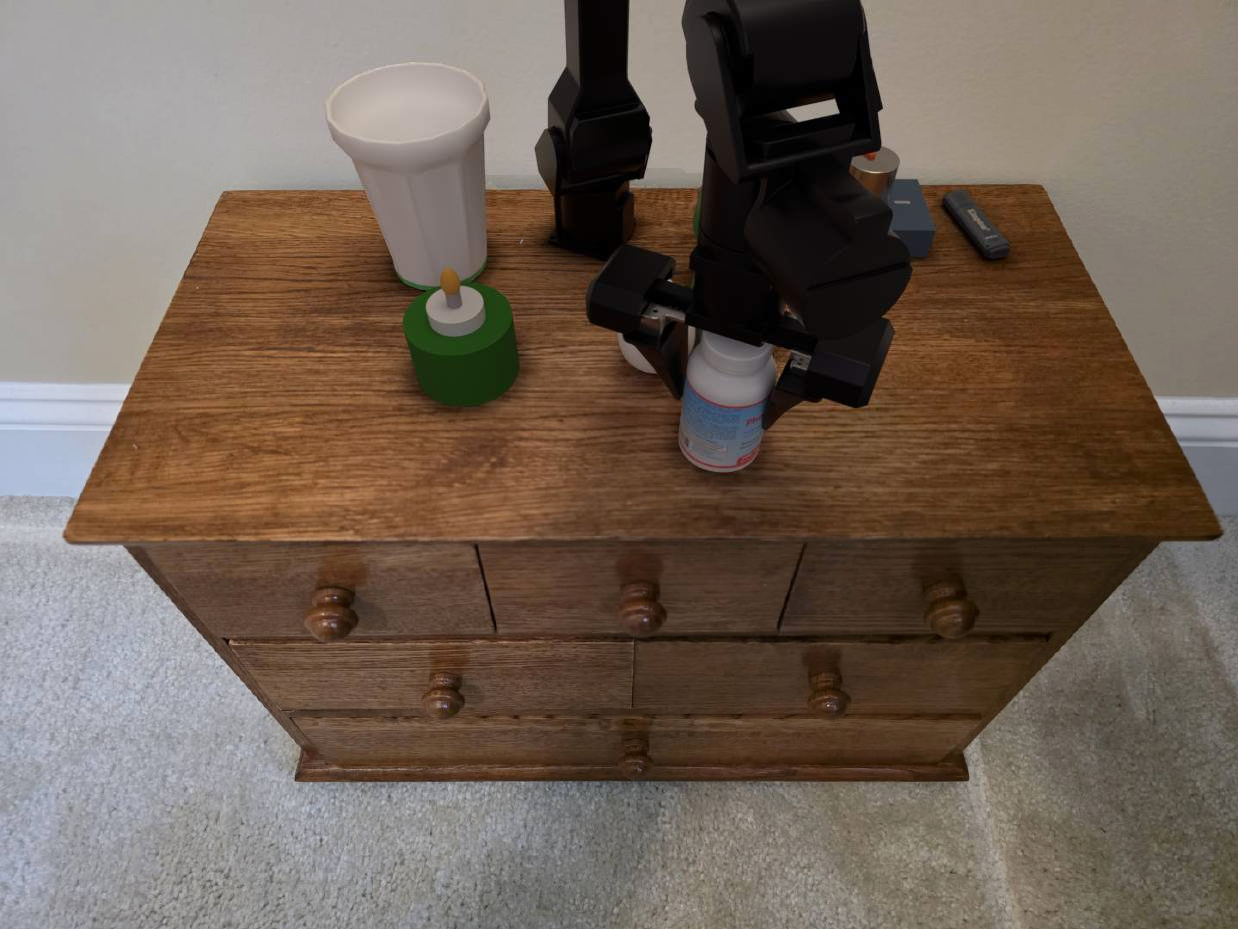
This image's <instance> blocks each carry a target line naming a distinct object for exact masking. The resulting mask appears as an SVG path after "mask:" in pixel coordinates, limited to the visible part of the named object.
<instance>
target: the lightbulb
mask: <svg viewBox="0 0 1238 929" xmlns="http://www.w3.org/2000/svg"><path fill="white" fill-rule="evenodd" d="M667 281H670V282H673V280H672V278H671V279H669V280H667ZM616 334H617V336H616V337H617V343H618V347H619V349H620V353H621V354H622V355H623V358H625V360H626V361H627V363H629V364H630V365H631V366H632V367H634V368H635V369H637V370H639V371H641V372H644V373H648V374H656V375H658V374H657V373H656V371H655V370H654V368H653V367H652V366H651V365H650V364H649V362H648V361H647V360H646V359H645V358H644V357H643V355H642V354H641V353H640V352H639V351H638V349H637V348H636V347H635V346H634V345H632V344H629V343H626V342H625V341H624V340H623V336H622V333H619V332H616ZM694 342H695V327H692V326H689V327H688V357H690V355H691V353H692V348H693V345H694Z"/></svg>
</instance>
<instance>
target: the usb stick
mask: <svg viewBox="0 0 1238 929" xmlns="http://www.w3.org/2000/svg"><path fill="white" fill-rule="evenodd" d="M941 202H942V205H944V207H945V208H946V209H947V210H948V212H949V213H950V214H951V215H952V217H953V218H954V220H955V221H956V222H957V223H958V225H959V226H960V227H961V228H962V229H963V231H964V232H965V234H966V235H967V236H968V238H970V240H971V241H972V242H973V243H974V244H975V246H976V247H977V248H978V249H979V251H980V252H981V253H982V254H983V256H984V258H987V259H1000V258H1004V257H1007V256H1008V255H1009V254H1010V252H1011V243H1010V242H1009V241H1008V240H1007V239H1006V238H1005V236H1004V235H1003V234H1002V233H1001V231H1000V230H999V229H998V228H997V227H996V226H995V224H994V223H993V222H992V220H990V218H989V217H988V216H987V215H986V214H985V213H984V210H982V209H981V208H980V207H979V205H978V204H977V203H976V202H975V200H974V199H973V198H972V197H971V196H970V194H969V193H968V192H967V191H966V190H965V189H956V190H953V191H952V190H951V191H949V192H947V193H945V194H944V195H943V196H942V200H941Z"/></svg>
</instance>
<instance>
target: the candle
mask: <svg viewBox="0 0 1238 929" xmlns="http://www.w3.org/2000/svg"><path fill="white" fill-rule="evenodd" d="M440 285H441V286H438V287H435V288H432V289H430V290H428V291H427V290H425V292H422V293H421V294H420V295H419V296H417V297H415V298H414V299H413V301H411V302H410V303H409V304H408V306H407V308H406V309H405V311H404V314H403V317H402V330H403V333H404V336H405V340H406V343H407V347H408V350H409V351H408V352H409V354H410V358H411V361H412V365H413V368H414V372H415V376H416V379H417V383H418V385H419V387H420V388H421V391H422V392H424V393H425V395H426V396H427V397H429V398H430V399H431V400H433V401H434V402H438V403H440V404H443V405H445V406H451V407H475V406H479V405H483V404H487V403H489V402H491V401H493V400H496V399H498V398H499V397H500V396H502V395H503V394H505V393H506V392H507V391H508V390H510V388H511V387H512V386H513V385H514V383H515V382H516V380H517V378H518V376H519V372H520V369H521V368H520V358H519V357H520V356H519V351H518V343H517V336H516V330H515V322H514V315H513V308H512V306H511V303H510V301H509V300H508V298H507V297H506V296H505V294H503V293H501V291H499V290H497V289H496V288H494V287H492V286H489V285H486V284H483V283H479V282H473V281H471V282H460V279H459V277H458V275H457V274H456V272H455V271H454V270H452V269H450V268H446V269H445V270H443V272H442V274H441V278H440Z"/></svg>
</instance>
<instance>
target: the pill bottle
mask: <svg viewBox="0 0 1238 929" xmlns="http://www.w3.org/2000/svg"><path fill="white" fill-rule="evenodd" d="M772 348H773V345H772V344H768V343H764V345H763V346H762V347H756V346H753V345H749V344H746V343H743V342H740V341H737V340H733V339H730V338H727V337H724V336H720V335H717V334H714V333H711V332H708V331H704V330H703V332H702V337H701V342H700V344H698V345H697V346H696V348H695V349H694V350H693V351H691V353H690V354H689V356H688V364H687V371H686V378H685V386H684V393H683V397H682V402H681V409H680V417H679V426H678V436H677V437H678V438H677V440H678V445H679V448H680V451H681V452H682V455H683V456H684V457H685V458H686V459H687V460H688V461H689V462H690V463H691V464H692V465H694V466H695V467H698V468H700V469H703V470H705V471H709V472H715V473H732V472H733V473H734V472H736V471H737V472H738V471H740V470H742V469H745V468H746V467H748V466H750V464H751V463H752V462H753V461H754V460H755V458H757V456H758V454H759V451H760V448H761V445H762V440H763V436H764V431H765V430H763V429H762V419H763V417H764V414H765V411H766V409H767V406H768V404H769V401H770V398H771V396H772V393H773V391H774V388H775V386H776V384H777V377H778V368H777V363H776V360H775V358H774V356H773V355H772V354H773V350H772Z"/></svg>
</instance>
